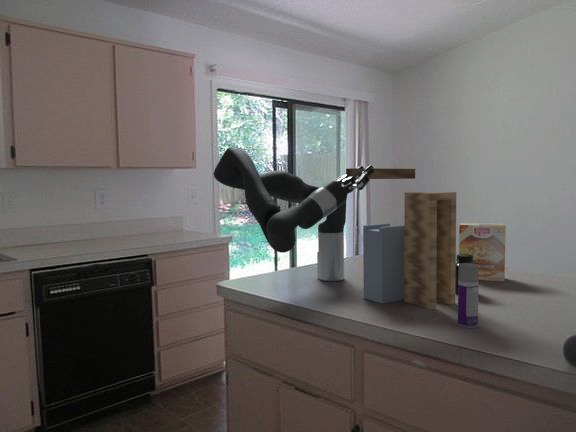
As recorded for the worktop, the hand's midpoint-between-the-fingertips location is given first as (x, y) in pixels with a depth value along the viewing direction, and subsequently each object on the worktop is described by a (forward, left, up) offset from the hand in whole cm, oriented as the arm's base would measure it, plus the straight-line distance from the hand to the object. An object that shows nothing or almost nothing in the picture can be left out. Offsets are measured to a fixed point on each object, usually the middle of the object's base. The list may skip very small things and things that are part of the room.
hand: (367, 168), depth 131 cm
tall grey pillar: (0, +7, -39) cm, 40 cm away
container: (+30, +6, -39) cm, 50 cm away
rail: (0, +6, -3) cm, 6 cm away
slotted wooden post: (+11, +14, -39) cm, 43 cm away
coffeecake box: (0, +53, -39) cm, 66 cm away
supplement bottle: (+10, +31, -39) cm, 51 cm away
